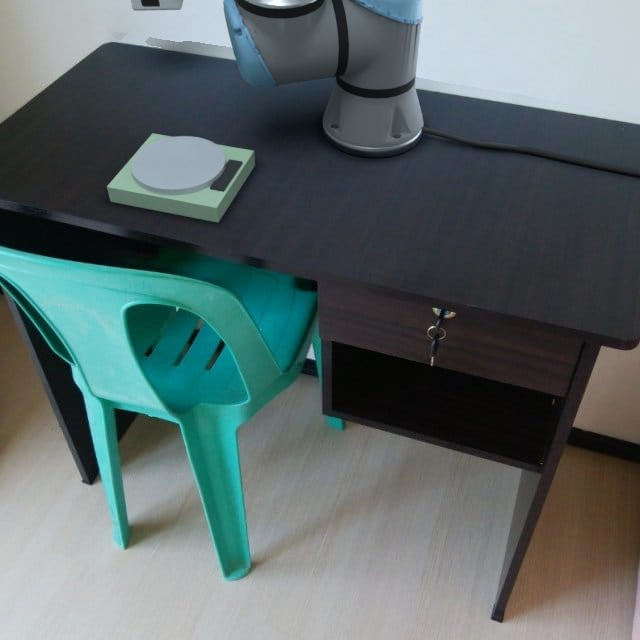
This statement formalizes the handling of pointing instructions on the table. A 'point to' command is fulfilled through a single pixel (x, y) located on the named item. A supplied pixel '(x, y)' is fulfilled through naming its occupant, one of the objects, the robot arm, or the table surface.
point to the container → (156, 5)
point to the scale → (183, 176)
